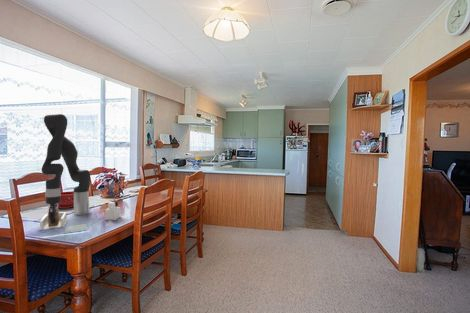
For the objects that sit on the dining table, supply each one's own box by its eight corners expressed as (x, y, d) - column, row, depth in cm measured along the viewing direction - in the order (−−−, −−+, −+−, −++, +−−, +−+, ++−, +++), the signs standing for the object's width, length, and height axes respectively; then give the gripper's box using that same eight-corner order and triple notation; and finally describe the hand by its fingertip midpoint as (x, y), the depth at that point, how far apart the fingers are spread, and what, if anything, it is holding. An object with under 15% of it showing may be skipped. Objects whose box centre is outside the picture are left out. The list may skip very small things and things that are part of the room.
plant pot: (60, 210, 177) (60, 195, 176) (53, 207, 184) (53, 193, 184) (79, 207, 188) (79, 192, 187) (72, 204, 195) (72, 190, 195)
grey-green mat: (87, 225, 146) (87, 224, 146) (86, 230, 137) (85, 229, 137) (67, 228, 141) (67, 226, 141) (65, 233, 132) (65, 231, 132)
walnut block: (58, 223, 146) (58, 209, 146) (57, 225, 143) (57, 211, 142) (49, 224, 144) (49, 210, 144) (48, 226, 140) (48, 212, 140)
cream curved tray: (67, 220, 155) (67, 211, 155) (64, 228, 141) (64, 218, 141) (45, 223, 149) (44, 214, 149) (39, 231, 135) (38, 221, 135)
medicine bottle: (110, 216, 165) (110, 200, 165) (120, 217, 165) (120, 200, 164) (105, 219, 158) (104, 202, 157) (115, 220, 158) (115, 203, 157)
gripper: (58, 197, 138) (59, 224, 139) (62, 192, 150) (62, 217, 151) (42, 198, 134) (43, 226, 135) (48, 193, 147) (48, 219, 148)
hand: (53, 221), depth 143 cm, fingers closed on walnut block, 4 cm apart
